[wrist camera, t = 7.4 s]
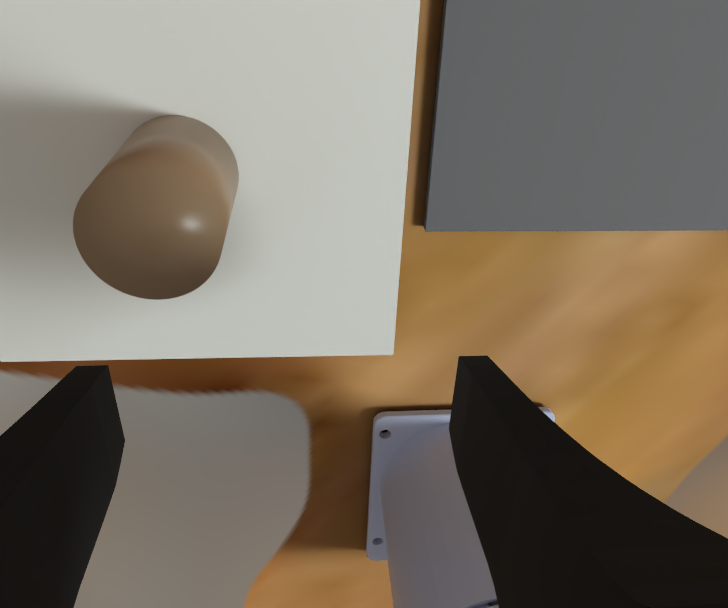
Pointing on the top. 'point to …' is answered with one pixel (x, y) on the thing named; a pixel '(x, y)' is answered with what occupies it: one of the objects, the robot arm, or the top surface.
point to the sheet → (292, 162)
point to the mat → (580, 116)
